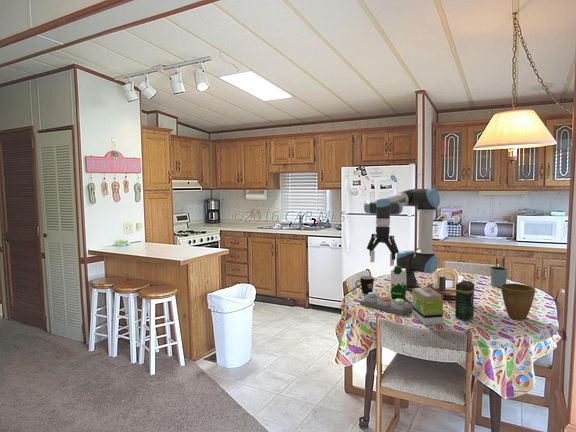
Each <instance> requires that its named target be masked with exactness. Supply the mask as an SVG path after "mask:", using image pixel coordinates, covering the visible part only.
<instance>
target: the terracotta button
mask: <svg viewBox="0 0 576 432" xmlns="http://www.w3.org/2000/svg"><path fill="white" fill-rule="evenodd" d="M380 296H381V300H382V301H386V302H387V301H390V299H391V295H390V296H389V295H386V294H385V295H383V294H382V295H380Z"/></svg>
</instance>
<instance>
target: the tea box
mask: <svg viewBox="0 0 576 432" xmlns="http://www.w3.org/2000/svg"><path fill="white" fill-rule="evenodd" d="M411 289H412V290H411V291H412V292H411V295H412V299H411V300H412V302H411V304H412V306H411V307H412V313H411V314H412V316H413V317H414V318H416V320H417V321H419V322H420V323H421V324H422V325H424V326H433V325H442V324H444V295H442V294H441V293H439V292H438V291H436V290H435V289H433V288H431V287H419V288H416V287H412V288H411Z"/></svg>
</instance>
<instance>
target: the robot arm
mask: <svg viewBox="0 0 576 432" xmlns="http://www.w3.org/2000/svg"><path fill="white" fill-rule="evenodd" d="M440 204H441V197H440V193H439V191H438V190H437V189H434V188H412V189H407V190H403V191H400V192H398V193H397V194H394V195H392V196H389V197H388V196H387V197H385V198H377V199H376V200H374V201H371V200H370V201H366V202H365V203H364V204H363V209H364V212H365V213H366V214H367V215H368V214H369V215H376V216H375V219H376V220H375V233H371V237H370V239H369V241H368V244H367V247H366V249H367V250H368V251H369V256H370V261H369V263H375V256H376V255H375V252H376V251H375V249H376V247H377V246H378V245H379V244H380V243H382V244H385V245H386V247H387V248H388V250H389V251H390V254H389V266H390V267H392V266H394V267H395V260H396V266H401V267H402V268H404V269H406V289H409V288H411V289H412V288H416V287H417V286H418V281H417V276H416V274H415V272H418V273H421V274H433V273H435V272H436V270H437V267H438V265H439V257H438V256H437V255H436V254H435V251H434V250H433V238H434V237H433V231H434V213H435V211H436V210H437V208H438V207H439V206H440ZM404 207H416V211H418V212H419V213H418V240H417V241H418V242H417V243H418V244H417V245H418V246H417V250H401V251H399V249H398V246H397V244H396V240H395V235H390V230H391V229H390V228H391V227H390V225H391V216H397V215H400V214H401V213H402V212H403V208H404Z"/></svg>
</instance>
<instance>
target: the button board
mask: <svg viewBox="0 0 576 432" xmlns="http://www.w3.org/2000/svg"><path fill="white" fill-rule="evenodd" d="M381 296H382V295H377V294H376V298H370V297H368V294H366V295H364V296H363V299H361V300H359V305H361V306H365V307H369V308H373V309H377V310H380V311H383V312H388V313H392V314H396V315H400V316H402V317H403V316H405V315H407V314H409V313H411V312H412V306H409V302H406V301H404V304H403V305H398V304H395V300H394V299H391V298H390V301H387V302H386V301H382V300H381Z"/></svg>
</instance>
